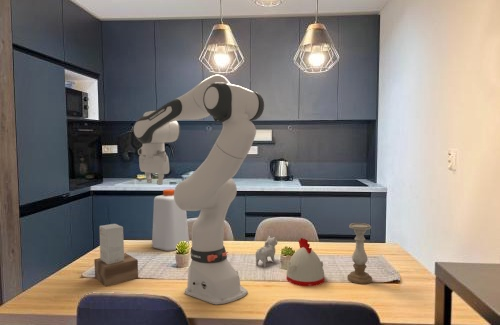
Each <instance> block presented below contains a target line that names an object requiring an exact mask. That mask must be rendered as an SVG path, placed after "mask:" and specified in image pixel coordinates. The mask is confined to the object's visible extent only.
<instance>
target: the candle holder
mask: <svg viewBox="0 0 500 325" xmlns="http://www.w3.org/2000/svg"><path fill="white" fill-rule="evenodd" d="M348 226H349V228H350V229H351V230H353V232H354V233H355V235H356V236H355V237H354V241H355V248H354V252H353V254H352V256H351V257H352V258H351V259H352V261H353V265H352V266H353V268H354V270H353V271H351V272H350V273H349V274H347V280H348V281H349V282H350V283H354V284H359V285H367V284H370V283H372V282H373V277H372V275H370V274H369V273H368V272H366V269H367V267H368V266H367V265H366V264H367V262H368V259H369V258H368V255H367V252H366V251H365V250H366V249H365V241H366V238H365V233H366V232H367V231H369V230H371V228H372V226H371V225H370V224H368V223H363V222H362V223H361V222H353V223H350V224H349V225H348Z"/></svg>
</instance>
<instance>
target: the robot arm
mask: <svg viewBox="0 0 500 325" xmlns="http://www.w3.org/2000/svg"><path fill="white" fill-rule="evenodd" d="M264 109H265V101H264V98H263V96H262V95H261V94H259V93H258V92H257V91H255V90H252V89H248V88H245V87H244V86H243V87H242V86H241V85H236V84H232V83H230V81H229V79H227V77H225V76H224V75H221V74H215V75H211V76H209V77H207V78H205V79H204V80H203V81H201V82H199V83H198V84H196V85H195V86H194V87H192V89H190V90H189V91H187V92H186V93H184V94H183V95H180V96H179V97H176V98H174V99H172V100H171V101H168V102H167V103H165V104H164V105H161V106H160V107H158V108H157V109H156V110H148V111H146V112H144V113H143V116H140V117H139V118H138V119H137V120H136V121H135V122H134V124H133V130H132V131H133V135H134V137H135V138H136V139H137V140H138V141H139V142H140V143H141V144H142V146H141V147H140V148H139V149H138V150H137V154H138V155H139V156H138V162H139V169H140V170H139V171H140V172H142V173H144V176H145V178H146V179H145V180H146V183H147V184H152V183H153V178H152V174H157V177H158V178H157V180H156V184H157V185H160V186H161V185H163V182H164V178H165V175H167V174H169V173H170V161H169V156H168V155H167V153H166V151H165V150H166V149H165V143H173V142H176V141H177V140H178V139H179V137H180V136H181V126H180V124H179V122H178V121H191V120H192V121H195V120H196V121H197V120H202V119H205V118H207V117H210V116H211V117H212V119H213V121H215V123H218V124H219V123H220V124H221V123H222V129H221V131H220V134H218V137H217V139H216V141H215V142H214V144H213V146H212V148H211V150H210V151H209V153H208V155H207V157H206V158H205V160H204V161H203V162H202V163H201V164H200V165H199V166H198V167H197V169H195V170H194V171H193V173H191V174H190V175H189V176H188V177H187V178H185V179H184V180H182V181H181V182H179V183H177V185H175V188H174V200H175V203H176V205H177V206H178V207H179V208H180V209H181V210H185V211H186V212H187V211H188V212H197V211H200V212H199V215H198V217H197V218H196V220H195V221H194V222H193V223H192V226H191V248H190V259H191V262H190V264H189V266H188V270H187V284H186V286H187V287H186V288H185V289H184V294H185V295H187V296H191V297H193V298H195V299H198V300H202V301H203V302H206V303H210V304H213V305H223V304H228V303H232V302H234V301H237V300H239V299H242V298H244V297H245V296H247V294H248V293H249V292H248V289H247V288H245V287H244V286H242V285H241V279H240V275H239V271H238V269H235V268H234V267H233V265H232V264H231V262H230V261H229V260H228V256H229V254H228V253H229V252H228V251H226V247H225V245H224V228H225V227H224V225H225V220H226V216H227V213H228V209H229V207H230V206H231V204H232V202H233V201H234V200H235V198H236V196H237V193H238V192H237V191H238V188H237V187H238V186H237V184H236V182H235V181H234V179H233V178H234V176H235V175H237V173H238V171H239V169H240V168H241V166H242V164H243V163H244V161H245V159H246V158H247V155H248V154H249V151H250V150H251V149H252V148H251V147H252V146H253V143H254V141H255V138H256V134H257V129H256V126H255V124H254V123H253V121H256V120H258V119H260V118H261V117H262V115H263V112H264Z"/></svg>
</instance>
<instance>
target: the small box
mask: <svg viewBox="0 0 500 325" xmlns="http://www.w3.org/2000/svg"><path fill="white" fill-rule="evenodd" d="M124 239H125V238H124V227H123V226H122V225H119V224H117V223H110V224H105V225H104V224H103V225H99V251H100V252H99V258H100V260H102V261H103V262H105V263H106V264H113V263H117V262H121V261H124V253H125V242H124V241H125V240H124Z"/></svg>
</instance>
